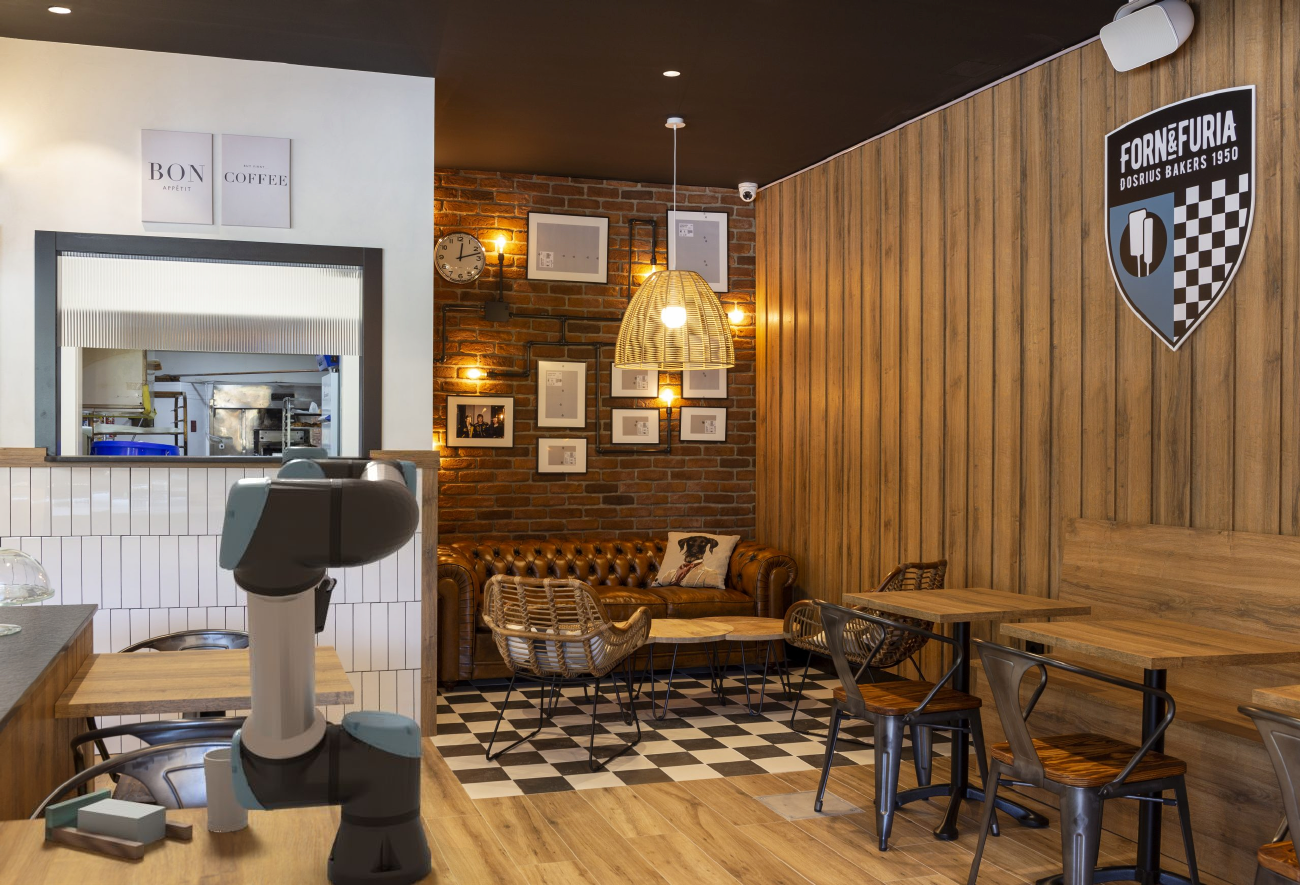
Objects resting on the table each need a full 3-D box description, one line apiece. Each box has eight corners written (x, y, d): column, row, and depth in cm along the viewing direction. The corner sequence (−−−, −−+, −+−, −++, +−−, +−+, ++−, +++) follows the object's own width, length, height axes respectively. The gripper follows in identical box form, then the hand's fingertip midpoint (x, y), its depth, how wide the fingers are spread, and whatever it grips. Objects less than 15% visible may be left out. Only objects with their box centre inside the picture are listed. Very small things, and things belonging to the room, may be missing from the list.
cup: (203, 820, 184) (205, 748, 184) (254, 816, 187) (255, 745, 187) (199, 836, 177) (201, 762, 177) (251, 831, 179) (253, 758, 179)
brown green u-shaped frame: (192, 837, 176) (193, 806, 176) (135, 859, 166) (136, 827, 166) (104, 818, 184) (104, 788, 184) (44, 839, 174) (45, 807, 174)
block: (165, 838, 176) (166, 807, 176) (136, 850, 171) (137, 818, 171) (106, 828, 180) (107, 798, 180) (77, 840, 174) (77, 809, 175)
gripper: (348, 536, 188) (345, 673, 188) (289, 533, 194) (286, 666, 193) (319, 539, 182) (316, 681, 181) (258, 535, 187) (255, 673, 187)
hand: (301, 673), depth 187 cm, fingers closed
